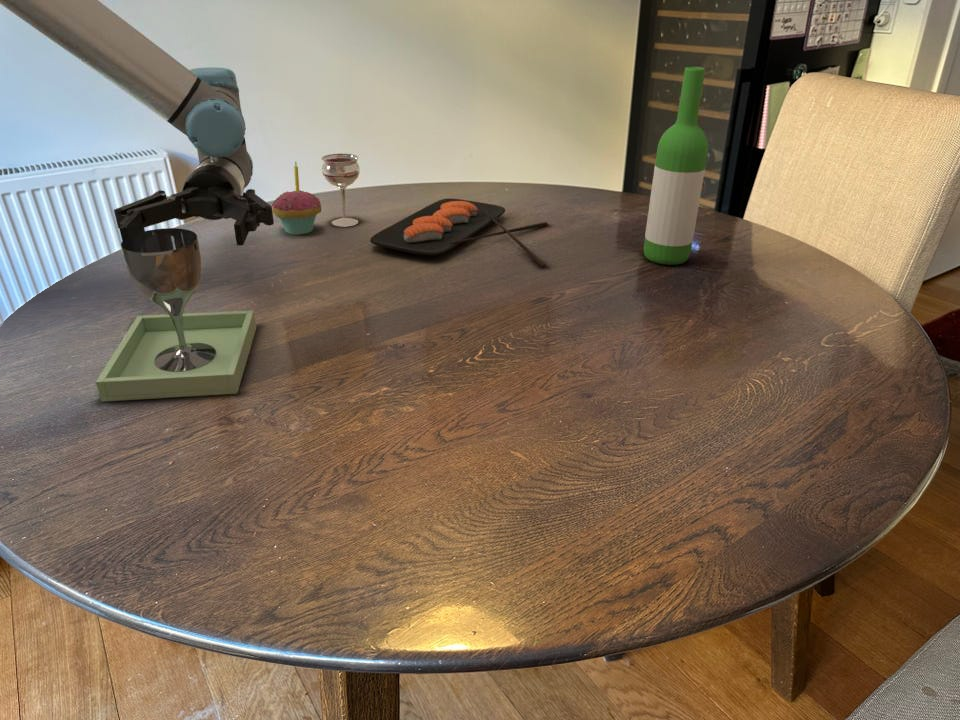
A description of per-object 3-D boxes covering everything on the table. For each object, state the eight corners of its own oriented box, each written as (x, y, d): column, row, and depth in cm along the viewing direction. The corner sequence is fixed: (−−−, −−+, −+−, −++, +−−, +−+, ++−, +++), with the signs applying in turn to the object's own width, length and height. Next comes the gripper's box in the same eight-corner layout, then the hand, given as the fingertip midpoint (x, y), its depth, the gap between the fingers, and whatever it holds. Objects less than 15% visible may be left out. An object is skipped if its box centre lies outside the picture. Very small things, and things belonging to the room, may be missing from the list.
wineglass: (339, 230, 128) (333, 164, 122) (319, 221, 132) (313, 157, 126) (370, 223, 132) (366, 158, 126) (350, 214, 136) (345, 151, 130)
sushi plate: (445, 205, 142) (444, 187, 140) (586, 229, 131) (588, 209, 129) (363, 251, 119) (361, 229, 117) (526, 284, 108) (527, 261, 106)
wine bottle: (639, 263, 116) (665, 69, 101) (645, 247, 123) (670, 63, 108) (687, 269, 114) (721, 72, 99) (690, 253, 121) (723, 66, 106)
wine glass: (233, 353, 87) (212, 237, 79) (177, 380, 81) (149, 258, 73) (192, 335, 90) (168, 223, 83) (136, 360, 85) (105, 242, 77)
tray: (101, 401, 78) (95, 382, 77) (142, 333, 92) (137, 315, 91) (237, 393, 80) (233, 374, 78) (256, 327, 94) (253, 310, 93)
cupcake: (283, 222, 131) (275, 157, 125) (328, 223, 131) (322, 158, 125) (269, 238, 124) (260, 170, 118) (317, 239, 124) (310, 171, 118)
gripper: (121, 165, 102) (67, 209, 84) (296, 162, 106) (280, 205, 87) (133, 214, 106) (84, 268, 88) (301, 211, 109) (287, 261, 91)
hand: (182, 236), depth 88 cm, fingers open, 13 cm apart
